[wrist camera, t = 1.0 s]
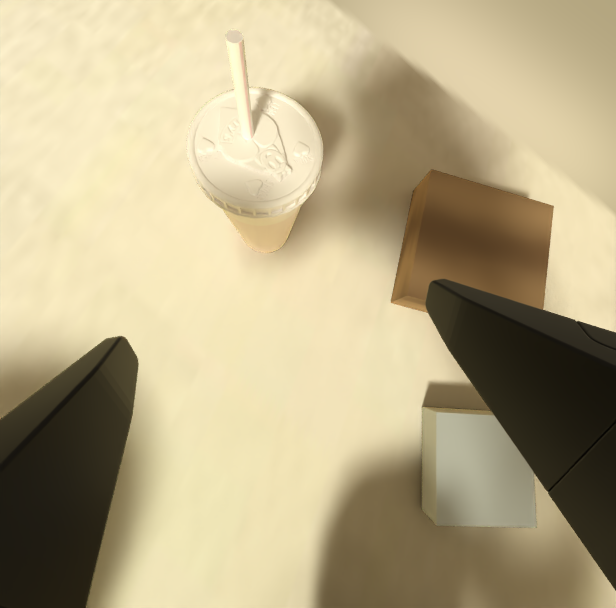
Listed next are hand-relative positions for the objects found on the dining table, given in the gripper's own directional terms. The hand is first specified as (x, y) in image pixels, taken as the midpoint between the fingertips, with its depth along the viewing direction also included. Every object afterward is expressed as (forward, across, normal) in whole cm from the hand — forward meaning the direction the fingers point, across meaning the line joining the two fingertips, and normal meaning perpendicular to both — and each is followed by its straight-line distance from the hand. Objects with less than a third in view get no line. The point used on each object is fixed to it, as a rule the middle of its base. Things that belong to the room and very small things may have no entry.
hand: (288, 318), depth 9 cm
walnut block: (+12, -16, +7) cm, 21 cm away
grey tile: (+2, -12, +17) cm, 21 cm away
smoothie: (+16, 0, +3) cm, 16 cm away
